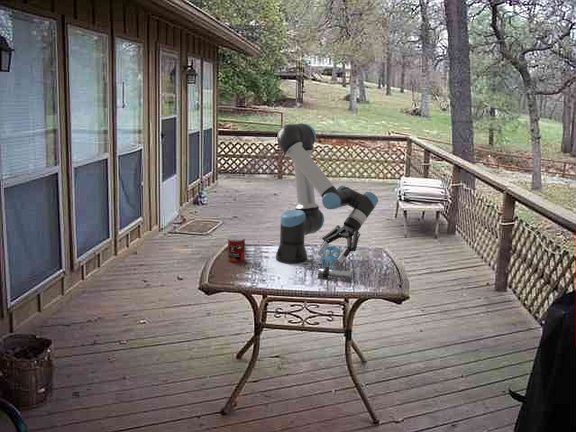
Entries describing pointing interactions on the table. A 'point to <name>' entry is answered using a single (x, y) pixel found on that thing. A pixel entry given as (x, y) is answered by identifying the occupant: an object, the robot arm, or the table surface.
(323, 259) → the chair
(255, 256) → the table surface
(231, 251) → the canned food
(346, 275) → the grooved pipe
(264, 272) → the table surface
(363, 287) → the table surface
